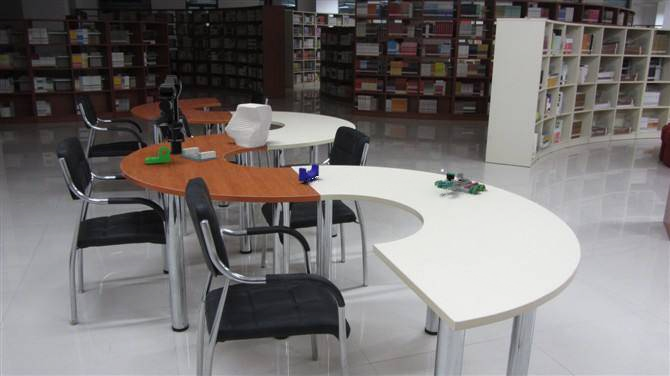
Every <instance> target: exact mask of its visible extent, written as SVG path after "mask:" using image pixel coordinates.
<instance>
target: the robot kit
mask: <svg viewBox="0 0 670 376" xmlns="http://www.w3.org/2000/svg"><path fill="white" fill-rule="evenodd" d="M455 176H456V177H455ZM455 178H456V179H455ZM434 186H435V187H437V188H438V189H441V188H442V189H443V190H449V191H453V192H460V193H464V194H470V195H477V194H480V193H479V192H484V191H486V185H485V184H484V183H483V184H482V183H479V182H478V181H474V182H473V181H472V180H470V179H469V178H465V174H464V173H463V172H460V171H459V172H457V174H456V173H454V172H446V178H445V179H444V180H443V179H440V180H435V182H434Z"/></svg>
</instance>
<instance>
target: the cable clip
mask: <svg viewBox="0 0 670 376" xmlns="http://www.w3.org/2000/svg"><path fill="white" fill-rule="evenodd" d="M319 175H320V164H316V163H312V164H311V167H310V170H307V168H305V167H298V182H301V181H306V182H308V181H307V180H309V179H312V178H315V177H316V176H319ZM315 179H316V178H315ZM312 180H313V179H312ZM309 181H310V180H309Z"/></svg>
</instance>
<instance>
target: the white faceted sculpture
mask: <svg viewBox="0 0 670 376" xmlns="http://www.w3.org/2000/svg"><path fill="white" fill-rule="evenodd" d="M272 118H273V110H272V106H270V104H261V103H241V104H238V105H237V107H236V110H235V113H234V114H232V116H231V119H230V120H229V121H228V124H227V125H226V126H225V127H224V132H226V134H227V135H228V136H229V137H230V138H231V139H232V138H233V139H234V141H235V145H236V146H239V147H242V148H246V149H254V148H261V147H264V146H265V144H266V143H267V140H268V139H269V136H270V135H269V134H270V129H271V125H272V124H271V123H272Z"/></svg>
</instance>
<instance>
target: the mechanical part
mask: <svg viewBox="0 0 670 376" xmlns="http://www.w3.org/2000/svg"><path fill="white" fill-rule="evenodd" d="M163 151H166V154H163ZM170 151H171V149H169V148H168V147H167V146H160V147H159V149H158V152H157V154H158V156H154V157H153V156H151V157H145V159H144V160H145V164H146V165H147V164H163V163H170V162H171V161H172V160H171V153H170Z"/></svg>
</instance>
